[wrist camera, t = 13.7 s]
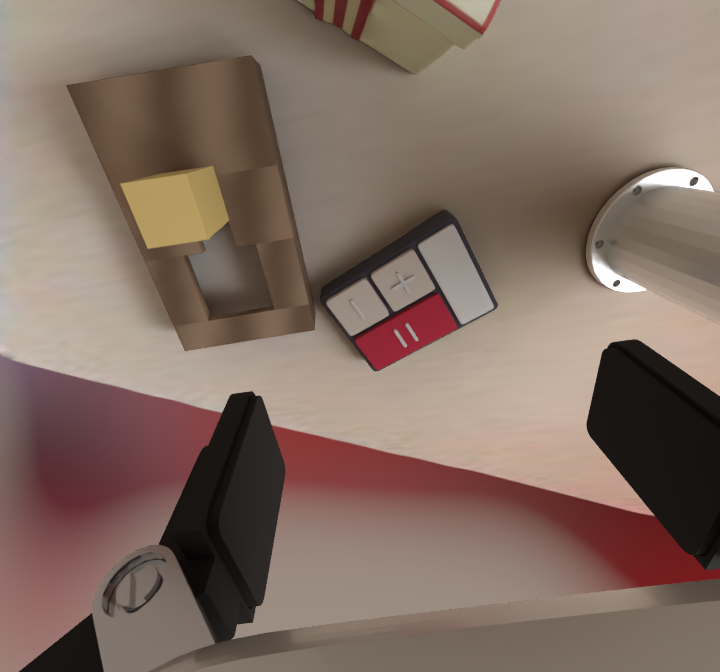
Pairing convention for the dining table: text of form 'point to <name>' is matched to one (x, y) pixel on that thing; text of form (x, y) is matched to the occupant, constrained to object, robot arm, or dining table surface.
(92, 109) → the keyhole board
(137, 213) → the peg
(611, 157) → the dining table surface
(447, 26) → the gift box
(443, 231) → the calculator
